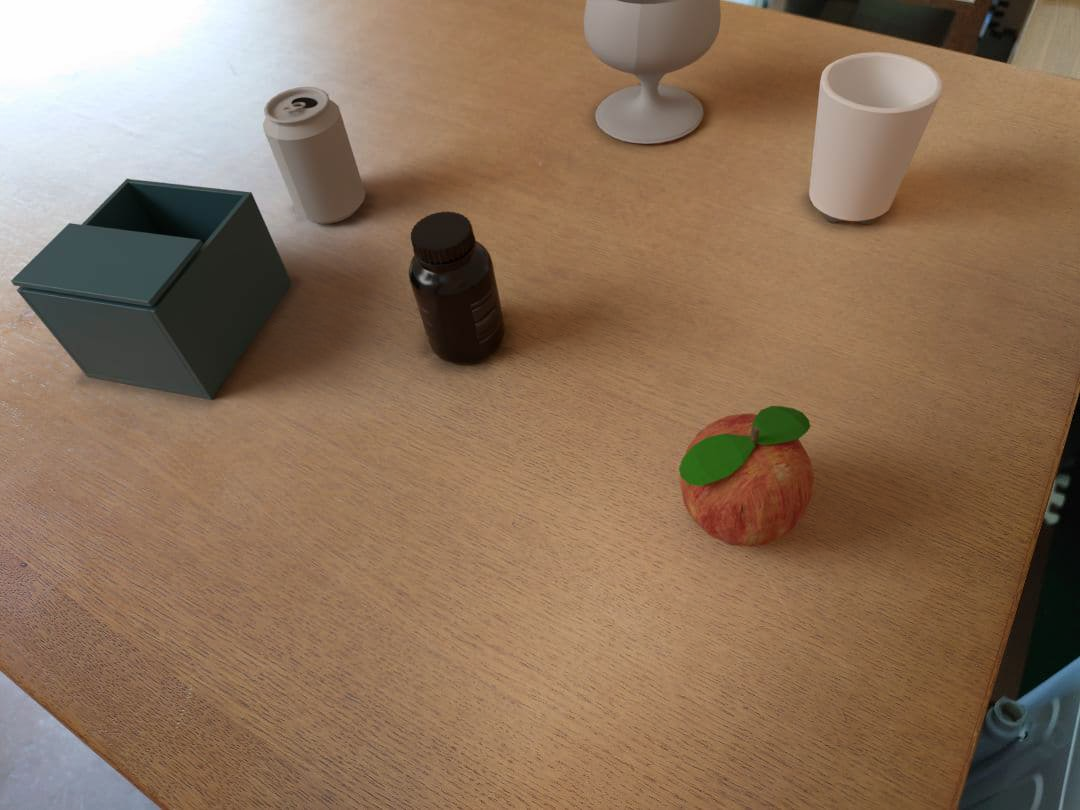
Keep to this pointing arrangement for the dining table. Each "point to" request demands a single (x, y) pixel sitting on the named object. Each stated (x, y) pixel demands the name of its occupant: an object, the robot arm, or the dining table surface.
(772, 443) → the fruit
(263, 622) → the dining table surface
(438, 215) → the supplement bottle
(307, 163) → the can
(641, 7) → the chalice
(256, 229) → the carton
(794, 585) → the dining table surface
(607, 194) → the dining table surface
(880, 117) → the cup
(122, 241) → the flap
